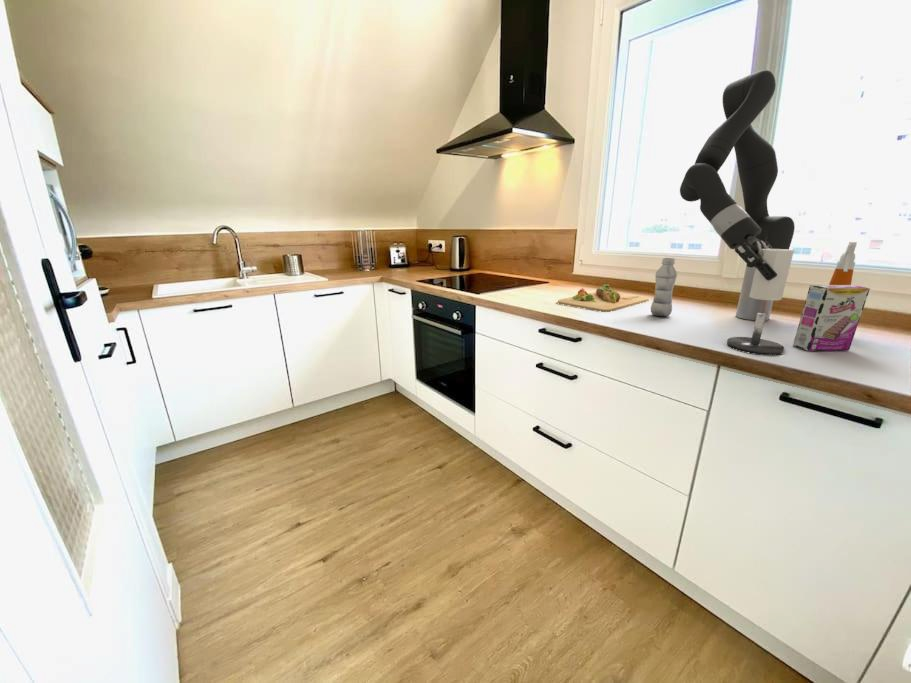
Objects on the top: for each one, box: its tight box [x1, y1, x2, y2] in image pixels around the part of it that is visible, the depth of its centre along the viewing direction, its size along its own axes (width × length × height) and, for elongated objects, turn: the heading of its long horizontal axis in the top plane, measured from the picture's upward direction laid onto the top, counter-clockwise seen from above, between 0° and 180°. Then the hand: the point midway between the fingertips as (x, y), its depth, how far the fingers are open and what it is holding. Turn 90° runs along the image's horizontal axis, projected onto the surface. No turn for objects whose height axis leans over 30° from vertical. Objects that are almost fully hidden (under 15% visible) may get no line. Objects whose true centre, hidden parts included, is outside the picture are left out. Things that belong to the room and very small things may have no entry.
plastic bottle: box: [650, 257, 678, 317], centre depth 133 cm, size 6×7×20 cm
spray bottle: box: [828, 241, 857, 285], centre depth 108 cm, size 7×11×26 cm, turn 137°
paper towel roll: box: [749, 248, 795, 301], centre depth 95 cm, size 6×6×12 cm
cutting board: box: [557, 283, 650, 313], centre depth 159 cm, size 35×23×8 cm
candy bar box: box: [792, 284, 871, 352], centre depth 97 cm, size 11×5×16 cm, turn 92°
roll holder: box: [726, 313, 785, 356], centre depth 100 cm, size 12×12×9 cm
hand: (778, 277), depth 94 cm, fingers closed on paper towel roll, 6 cm apart
